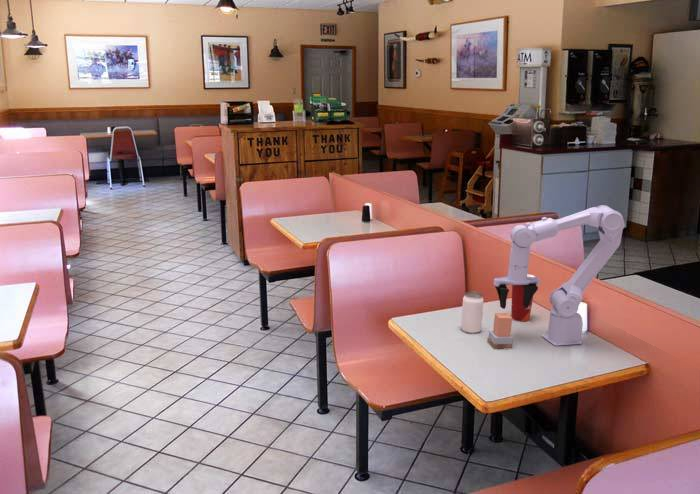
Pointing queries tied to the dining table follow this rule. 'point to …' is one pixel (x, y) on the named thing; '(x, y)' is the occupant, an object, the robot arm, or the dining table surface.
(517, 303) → the coffee cup
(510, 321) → the brick block
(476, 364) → the dining table surface
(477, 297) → the can
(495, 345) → the tower lower
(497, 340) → the tower upper
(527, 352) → the dining table surface
